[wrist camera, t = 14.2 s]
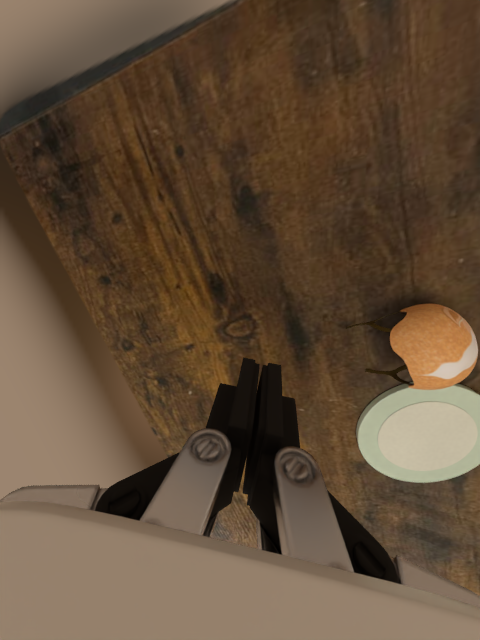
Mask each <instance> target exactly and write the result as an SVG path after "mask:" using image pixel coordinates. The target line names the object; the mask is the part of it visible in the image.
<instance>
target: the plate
mask: <svg viewBox="0 0 480 640" xmlns="http://www.w3.org/2000/svg"><path fill="white" fill-rule="evenodd" d="M409 383H412V384H413V383H414V382H409ZM408 386H409V385H408V384H402V385H399V386H396V387H394V388H392V389H390V390H388V391H386V392H384V393H382V394H381V395H379V396H378V397H377V398H375V399H374V400H373V401H372V402H371V403H370V404H369V405H368V406H367V407H366V408H365V410H364V411H363V412H362V414H361V416H360V418H359V421H358V424H357V429H356V439H357V443H358V446H359V449H360V452H361V454H362V455H363V457H364V459H365V460H366V461H367V462H368V463H369V464H370V465H371V466H372V467H373V468H374V469H376V470H377V471H379V472H381V473H382V474H384V475H386V476H389V477H391V478H394V479H398V480H402V481H407V482H419V483H426V482H436V481H443V480H447V479H451V478H454V477H457V476H459V475H462V474H464V473H466V472H468V471H470V470H472V469H473V468H475V467H476V466H478V465H479V464H480V394H478V393H477V392H476V391H474V390H472V389H470V388H469V387H466V386H464V385H461V384H458V383H457V384H455V385H453V386H450V387H447V388H444V389H437V390H420V389H412V388H409V387H408Z"/></svg>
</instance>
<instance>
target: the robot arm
mask: <svg viewBox="0 0 480 640" xmlns="http://www.w3.org/2000/svg"><path fill="white" fill-rule="evenodd" d="M258 375H259V364H256V363H255V360H253V359H248V358H243V362H242V366H241V371H240V376H239V380H238V385H237V387H236V386H231V385H226V384H222V383H220V385H219V388H218V391H217V394H216V398H215V401H214V404H213V407H212V410H211V413H210V416H209V419H208V422H207V426H206V429H201V430H198V431H196V432H194V433H193V434H192V435H191V436H190V437H189V438H188V440H187V441H186V443H185V445H184V446H183V448H182V450H181V451H180V452H179V453H177V454H175V455H173V456H171V457H169V458H167V459H165V460H163V461H161V462H159V463H156V464H155V465H152V466H150V467H148V468H146V469H144V470H142V471H140V472H138V473H136V474H134V475H132V476H130V477H128V478H125V479H123V480H121V481H119V482H117V483H116V484H114V485H112V486H111V487H109V488H105V489H100V487H99V485H46V486H28V487H22V488H20V489H17V490H15V491H13V492H11V493H9V494H8V495H6V496H5V497H4V498H2V499H1V500H0V640H480V596H478V595H477V594H475V593H474V592H472V591H470V590H468V589H466V588H464V587H462V586H460V585H458V584H456V583H454V582H452V581H450V580H448V579H446V578H444V577H441V576H439V575H437V574H435V573H433V572H431V571H429V570H427V569H425V568H423V567H421V566H419V565H417V564H414V563H412V562H410V561H408V560H406V559H404V558H402V557H400V556H398V555H397V556H396V557H395V558H393V557H391V556H389V555H388V553H387V552H386V551H385V549H384V548H383V547H382V546H381V545H380V543H379V542H378V541H377V540H376V539H375V538H374V537H373V536H372V535H371V534H370V533H369V532H368V531H367V530H366V529H365V528H364V527H363V526H362V525H361V524H360V523H359V522H358V521H357V520H356V519H355V518H354V517H353V516H352V515H351V514H350V513H349V512H348V511H347V510H346V509H345V508H344V507H343V506H342V505H341V504H340V503H339V502H338V501H337V500H336V499H335V498H334V497H333V496H332V495H331V494H330V493H329V491H328V490H327V488H326V485H325V482H324V479H323V476H322V473H321V470H320V467H319V465H318V463H317V461H316V460H315V459H314V458H313V456H312V455H310V454H309V453H308V452H307V451H305V450H303V449H301V448H300V442H299V433H298V423H297V414H296V404H295V399H294V398H289V397H284V396H282V378H281V365H277V364H272V363H268V366H266V365H263V368H262V372H261V376H260V381H259V385H258V390H257V384H258ZM246 457H247V460H246ZM245 461H246V468H245V477H244V485H243V493H244V494H248V500H247V505H249V506H250V509H251V510H252V511H253V513H254V514H255V516H256V517H257V522H256V530H257V544H258V549H256V548H252V547H248V546H243V545H239V544H235V543H231V542H227V541H223V540H218V539H214V538H211V535H212V532H213V530H214V527H215V524H216V521H217V518H218V513H219V511H220V510H222V509H223V508H225V507H226V506H227V505H229V504H230V503H231V501H232V496H233V492H234V491H235V492H238V491H239V487H240V482H241V478H242V474H243V470H244V465H245Z"/></svg>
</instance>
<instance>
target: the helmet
mask: <svg viewBox="0 0 480 640" xmlns="http://www.w3.org/2000/svg"><path fill="white" fill-rule="evenodd" d="M400 312H401V313H407V315H406V316H405V317H404V319H403V320H401V321H400V322H399V323H398V324H396V325H395V326H394V327H393V329H389V328H384V327H381V326H378V325H376V324H375V323H374V322H375V321H377V320H379V319H381V318H379V319H376V320H374V321H371V322H366V323H360V324H356V325H352V326H349V327H347V328H350V327H353V326H358V325H365V324H366V325H370V326H372V327H374V328H376V329H378V330H381V331H386V332H391V333H390V344H391V346H392V349H393V351H394V352H396V353H397V354H398V355H399V356H400V357H401V358H403V359H404V361H405V363H406V365H403V366H401V367H399V368H397V369H395V370H393V371H376V370H370V369H366V370H365V371H366V372H370V373H376V374H386V375H390V376H392V377H393V378H395V379H396V380H398V381H400V382H402V383H405V384H408V385H409V386H408V387H409V388H412V389H420V390H437V389H444V388H447V387H450V386H453V385H455V384H457V383H459V382H461V381H462V380H464V379H465V378H466V377H467V376H468V375H469V374H470V373H471V371H472V370H473V368H474V366H475V364H476V361H477V355H478V346H477V341H476V337H475V335H474V332H473V330H472V328H471V327H470V325H469V324H468V323H467V321H466V320H465V319H464V318H462V317H461V316H460V315H459V314H458V313H456V312H455V311H453V310H451V309H449V308H447V307H445V306H442V305H439V304H419V305H415V306H411V307H408V308H405V309H402V310H400ZM397 313H398V312H397ZM393 314H395V313H393ZM390 315H392V314H390ZM387 316H389V315H387ZM385 317H386V316H385ZM382 318H384V317H382ZM347 328H346V329H347ZM407 368H408V370H409V373H410V375H411V377H412V379H413V382H414V383H413V384H412V383H409V382H406V381H404V380H402V379H400V378H399V377H398V376H397V373H398V372H400V371H402V370H405V369H407Z"/></svg>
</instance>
